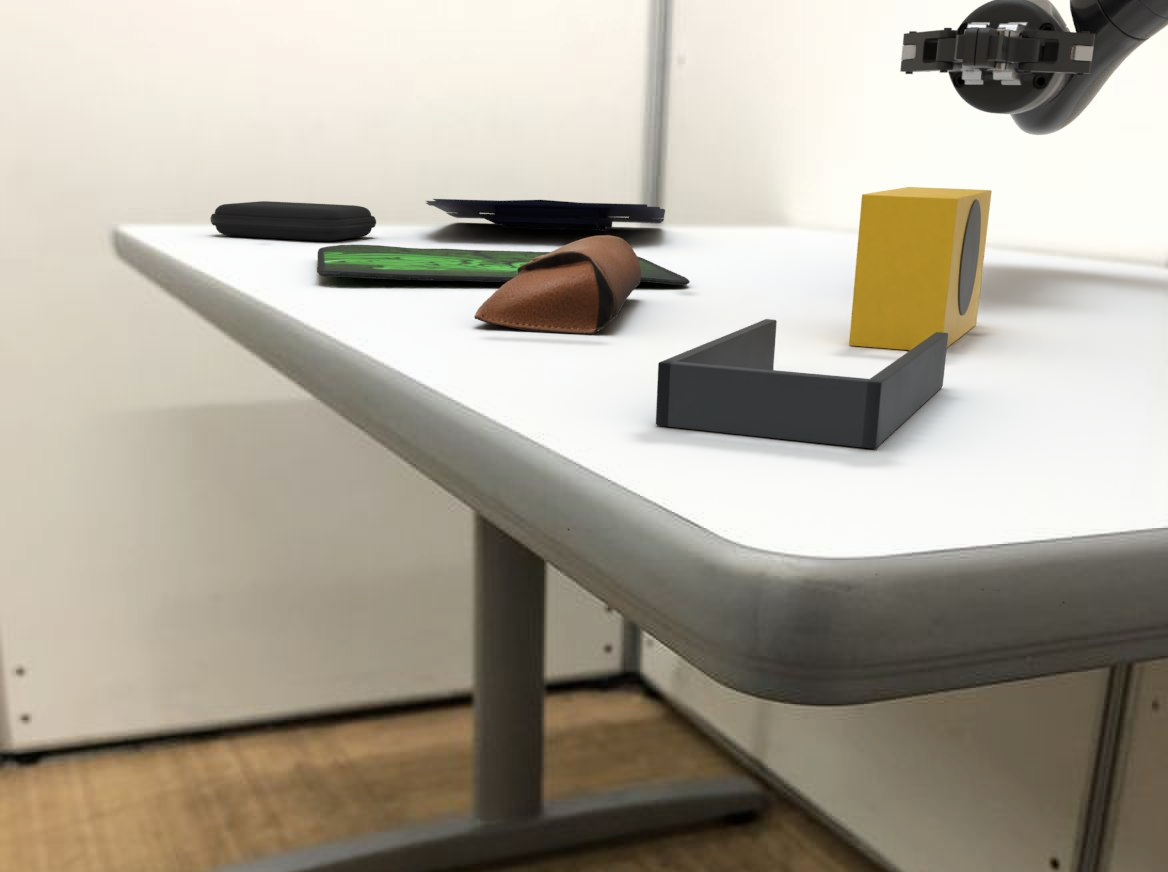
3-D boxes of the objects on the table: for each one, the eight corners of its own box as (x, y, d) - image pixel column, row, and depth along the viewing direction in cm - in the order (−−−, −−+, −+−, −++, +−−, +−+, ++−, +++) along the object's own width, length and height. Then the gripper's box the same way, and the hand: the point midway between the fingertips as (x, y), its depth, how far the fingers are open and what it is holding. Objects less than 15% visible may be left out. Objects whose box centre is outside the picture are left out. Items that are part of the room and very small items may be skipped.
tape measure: (893, 319, 89) (906, 186, 86) (978, 325, 87) (993, 190, 84) (846, 345, 77) (859, 194, 75) (942, 353, 75) (959, 198, 73)
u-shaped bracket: (761, 370, 69) (765, 318, 68) (942, 386, 65) (948, 332, 65) (655, 425, 55) (657, 362, 55) (875, 449, 52) (881, 382, 51)
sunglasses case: (516, 285, 97) (568, 200, 94) (602, 341, 97) (655, 258, 95) (468, 319, 80) (529, 217, 77) (572, 388, 80) (636, 287, 78)
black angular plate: (412, 227, 135) (412, 188, 134) (453, 242, 164) (454, 209, 164) (665, 234, 134) (667, 195, 133) (662, 247, 163) (663, 215, 163)
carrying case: (389, 236, 141) (263, 229, 146) (388, 205, 140) (261, 199, 145) (335, 243, 132) (202, 236, 137) (334, 210, 131) (200, 203, 136)
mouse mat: (635, 258, 123) (635, 246, 122) (698, 287, 102) (699, 272, 102) (317, 256, 118) (316, 243, 118) (317, 285, 98) (316, 270, 97)
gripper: (1100, 115, 100) (1080, 113, 85) (913, 112, 105) (862, 109, 90) (1116, 1, 97) (1098, -22, 82) (923, 2, 102) (873, -19, 87)
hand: (975, 46), depth 86 cm, fingers closed
